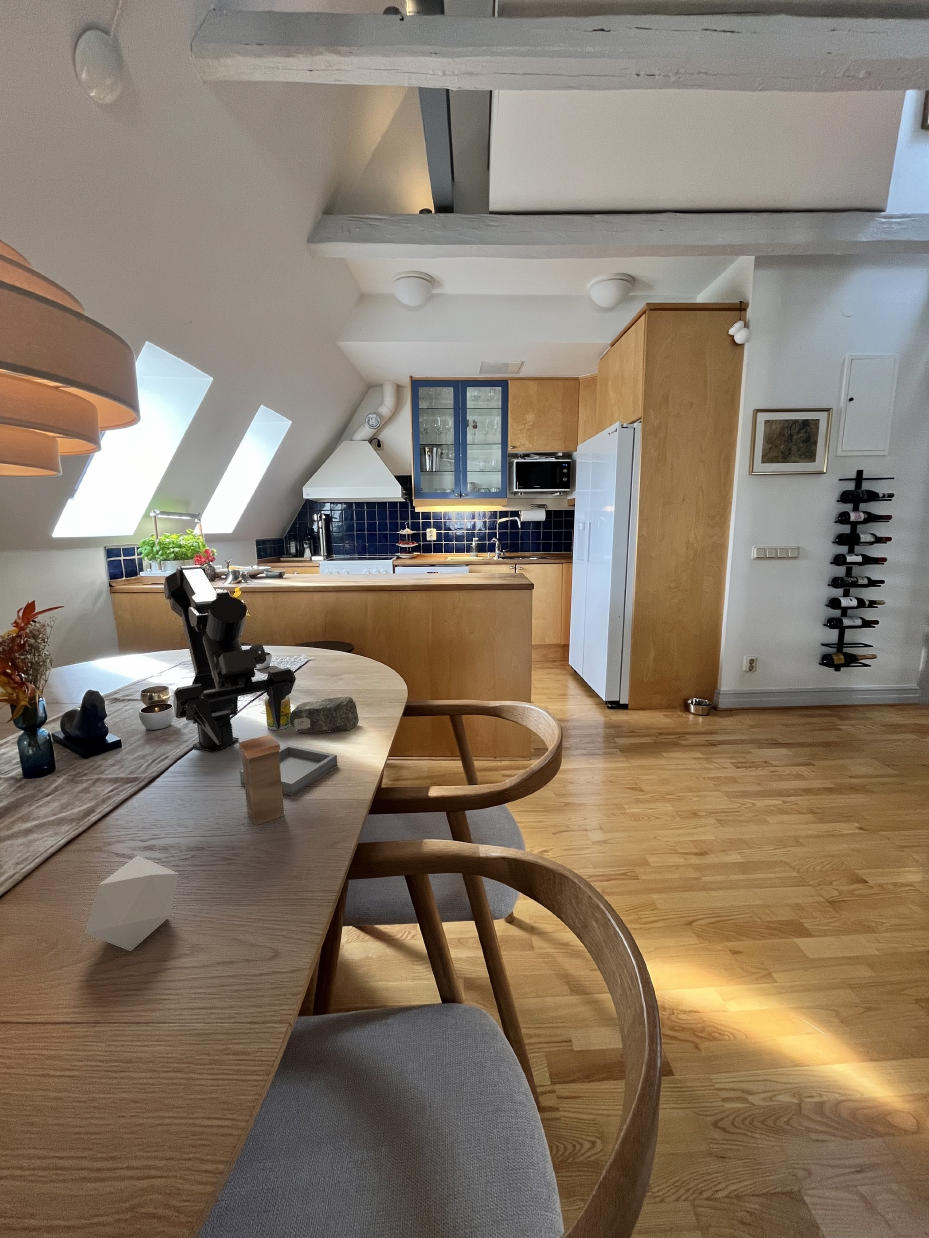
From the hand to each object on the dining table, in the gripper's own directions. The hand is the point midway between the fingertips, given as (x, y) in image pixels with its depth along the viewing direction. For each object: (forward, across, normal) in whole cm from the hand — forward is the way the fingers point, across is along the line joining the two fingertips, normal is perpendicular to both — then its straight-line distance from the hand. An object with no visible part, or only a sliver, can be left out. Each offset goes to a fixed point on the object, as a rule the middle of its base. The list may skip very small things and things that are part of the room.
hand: (250, 735), depth 84 cm
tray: (+4, +8, +12) cm, 15 cm away
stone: (-7, +21, +24) cm, 33 cm away
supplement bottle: (-14, +14, +30) cm, 36 cm away
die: (+23, -19, -6) cm, 30 cm away
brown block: (+12, 0, +5) cm, 13 cm away
